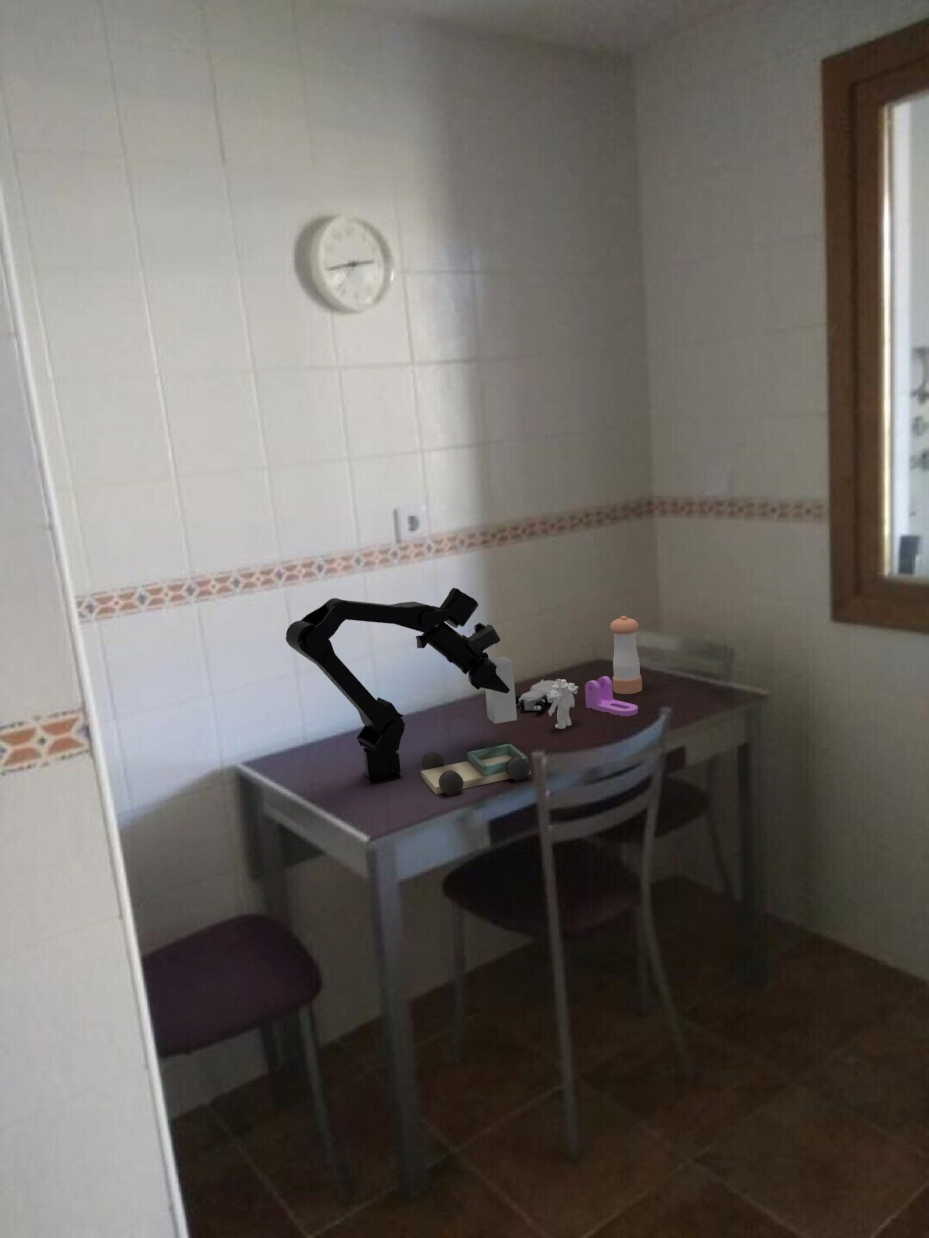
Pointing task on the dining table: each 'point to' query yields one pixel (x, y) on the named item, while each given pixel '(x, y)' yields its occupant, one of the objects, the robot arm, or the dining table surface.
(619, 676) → the pepper shaker
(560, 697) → the flower shoulder figurine
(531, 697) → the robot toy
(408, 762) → the dining table surface
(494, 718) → the tall gray rectangular block
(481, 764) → the toy car chassis
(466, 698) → the dining table surface
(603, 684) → the bracket
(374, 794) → the dining table surface
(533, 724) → the dining table surface
